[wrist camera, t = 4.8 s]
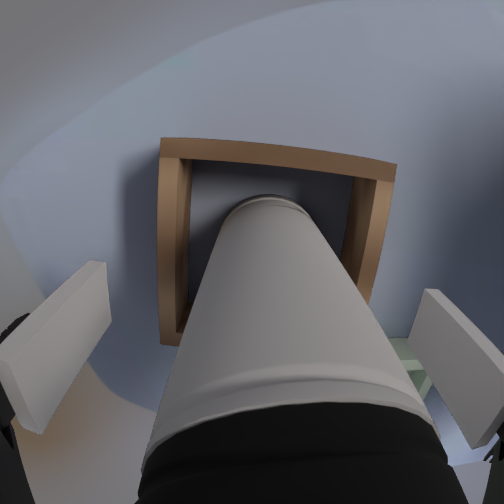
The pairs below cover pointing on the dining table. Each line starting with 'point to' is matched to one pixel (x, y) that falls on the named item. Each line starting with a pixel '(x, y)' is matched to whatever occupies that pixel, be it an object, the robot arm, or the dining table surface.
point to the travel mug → (288, 383)
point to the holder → (186, 149)
